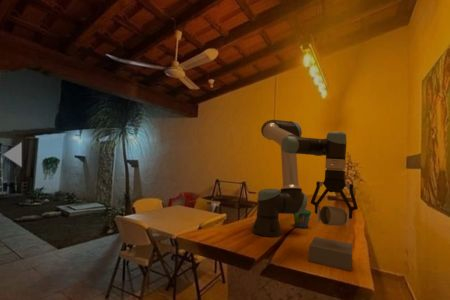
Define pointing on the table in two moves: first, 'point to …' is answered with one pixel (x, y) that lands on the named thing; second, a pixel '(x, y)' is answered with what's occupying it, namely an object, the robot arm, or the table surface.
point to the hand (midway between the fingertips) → (332, 224)
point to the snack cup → (302, 219)
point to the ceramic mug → (333, 215)
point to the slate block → (331, 253)
